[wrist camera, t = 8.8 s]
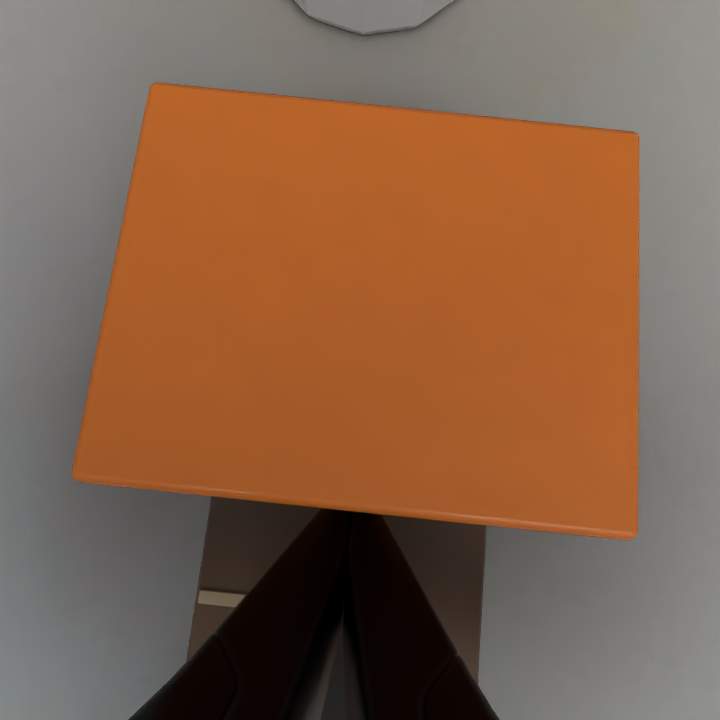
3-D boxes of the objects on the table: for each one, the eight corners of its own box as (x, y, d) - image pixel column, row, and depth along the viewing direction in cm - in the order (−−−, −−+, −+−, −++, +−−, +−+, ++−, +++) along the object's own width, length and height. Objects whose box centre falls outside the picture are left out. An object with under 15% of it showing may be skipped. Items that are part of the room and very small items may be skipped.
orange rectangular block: (457, 516, 15) (665, 568, 5) (242, 493, 15) (37, 502, 5) (468, 346, 16) (663, 113, 6) (266, 324, 16) (132, 58, 6)
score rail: (445, 1019, 14) (488, 1258, 10) (150, 986, 14) (60, 1212, 10) (492, 232, 18) (537, 152, 14) (265, 209, 18) (239, 121, 14)
